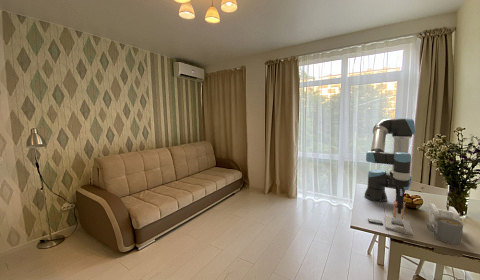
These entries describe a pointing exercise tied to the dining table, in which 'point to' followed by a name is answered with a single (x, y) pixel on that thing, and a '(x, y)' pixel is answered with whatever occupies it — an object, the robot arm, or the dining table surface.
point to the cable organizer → (442, 213)
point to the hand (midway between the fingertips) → (398, 216)
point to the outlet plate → (400, 222)
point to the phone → (375, 221)
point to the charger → (395, 210)
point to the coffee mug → (447, 229)
